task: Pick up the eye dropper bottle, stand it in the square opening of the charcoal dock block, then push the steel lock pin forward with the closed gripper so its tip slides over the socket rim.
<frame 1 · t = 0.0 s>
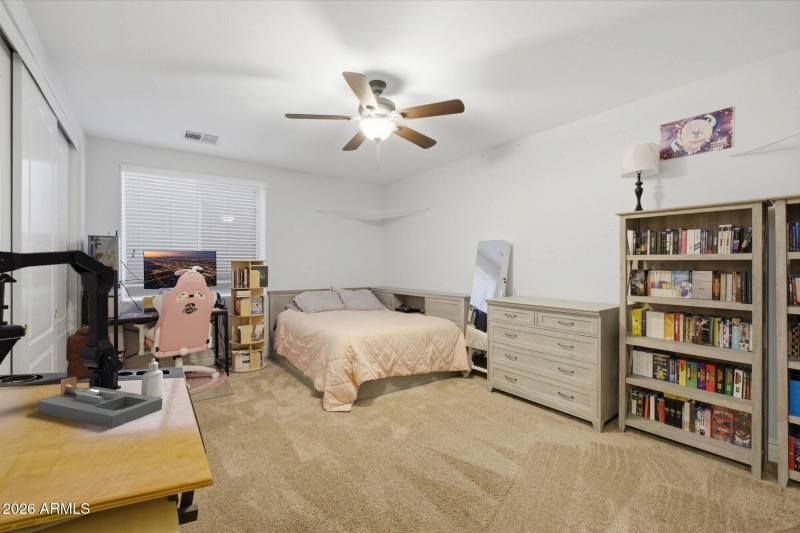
lock pin: (81, 388, 103), point 5 cm above the table, slide at 0.0 cm
eye dropper bottle: (151, 398, 111), on the table
dock block: (121, 414, 98), on the table
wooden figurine: (87, 376, 130), on the table
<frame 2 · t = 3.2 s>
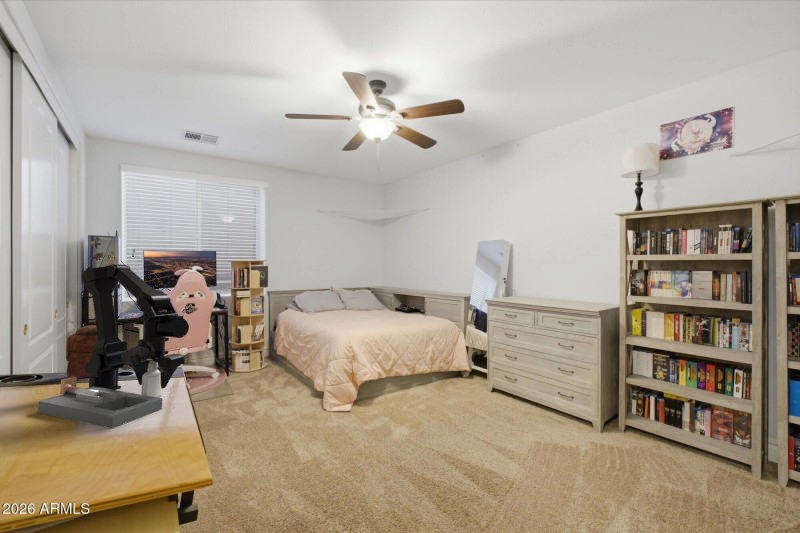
hand: (152, 386, 111), 3 cm above the table, tool pointing down, fingers closed on eye dropper bottle, 8 cm apart
eye dropper bottle: (151, 398, 111), on the table, touching gripper
everything else where it was.
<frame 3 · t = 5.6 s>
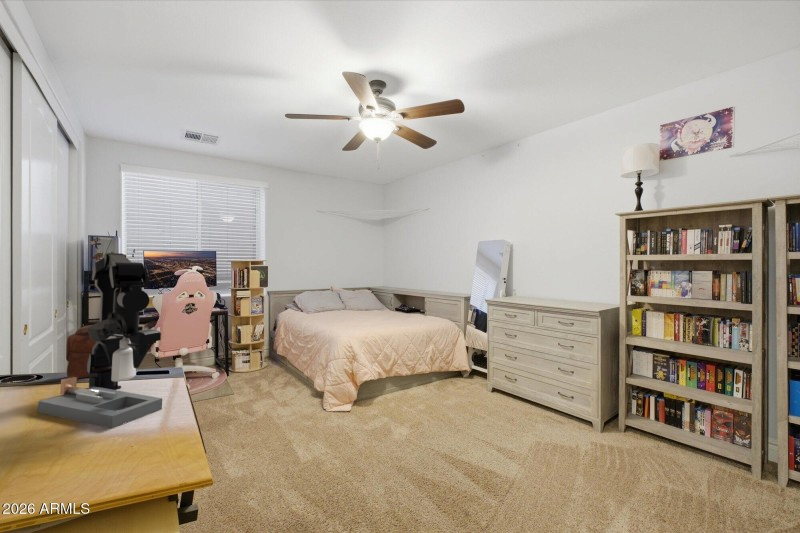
hand: (124, 366, 98), 13 cm above the table, tool pointing down, fingers closed on eye dropper bottle, 8 cm apart
eye dropper bottle: (123, 379, 98), point 9 cm above the table, touching gripper
everything else where it was.
when the fingers open (4 cm above the table, at t = 8.5 s): eye dropper bottle stays where it is, resting in dock block.
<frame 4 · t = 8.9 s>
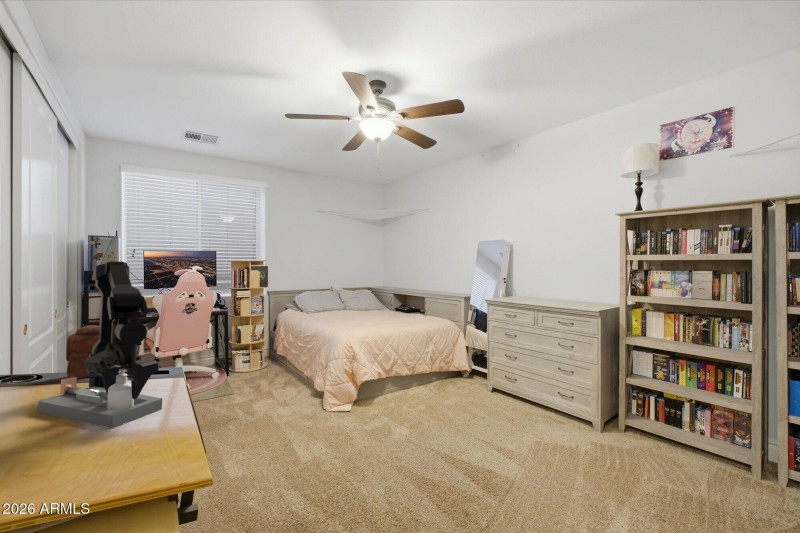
hand: (122, 396, 98), 5 cm above the table, tool pointing down, fingers open, 9 cm apart
eye dropper bottle: (120, 415, 98), resting in dock block
everything else where it was.
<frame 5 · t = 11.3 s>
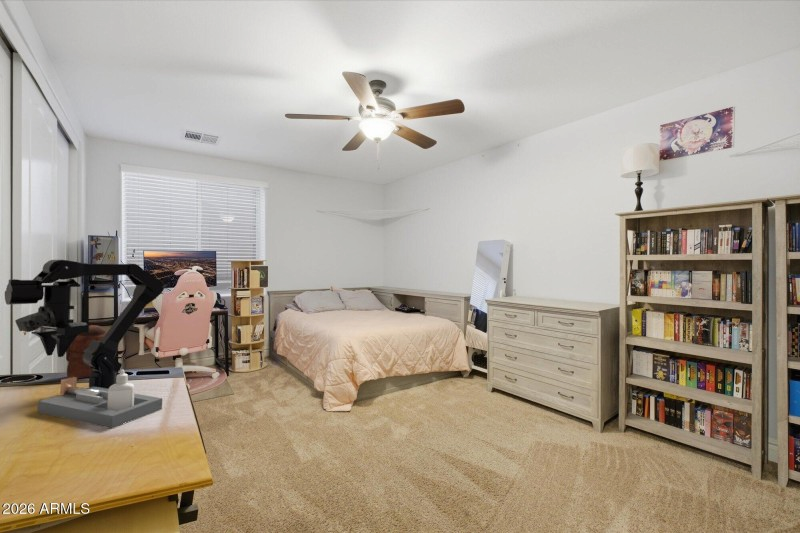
hand: (55, 356, 106), 13 cm above the table, tool pointing down, fingers open, 4 cm apart
nothing on the table moved.
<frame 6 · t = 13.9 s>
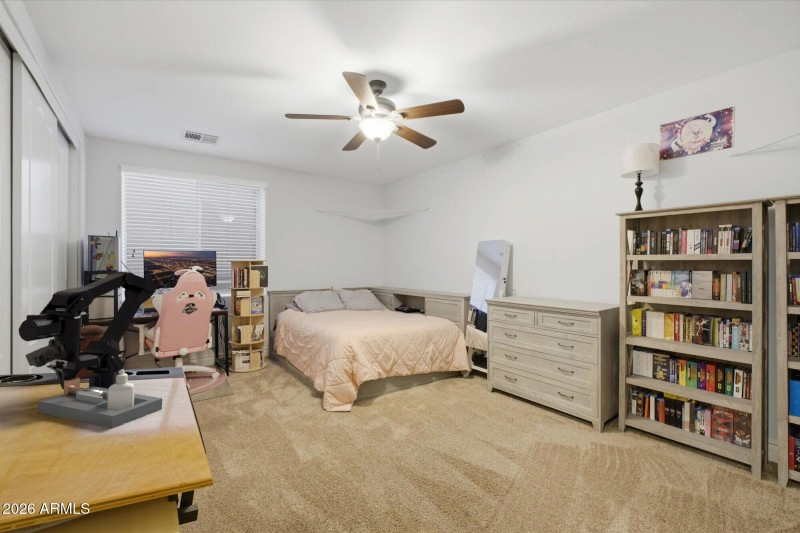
hand: (65, 389, 104), 4 cm above the table, tool pointing down, fingers closed
lock pin: (85, 388, 102), point 5 cm above the table, slide at 1.4 cm, touching gripper
everything else where it was.
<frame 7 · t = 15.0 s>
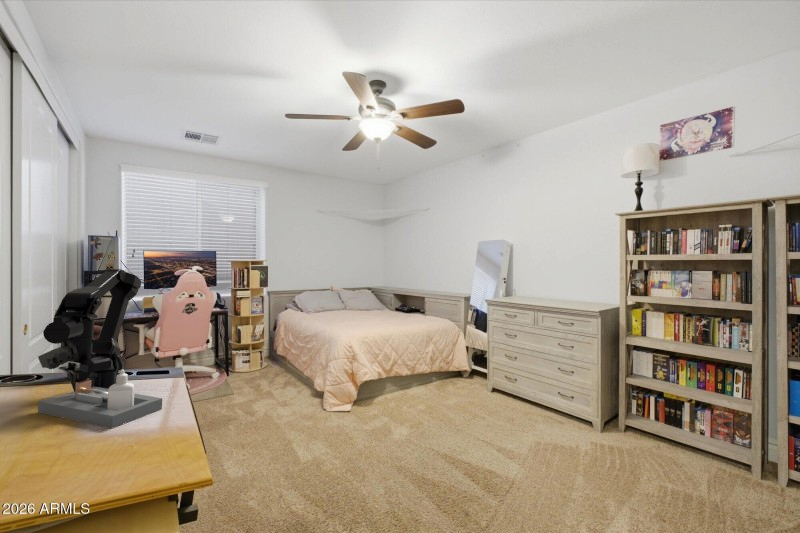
hand: (76, 391, 103), 4 cm above the table, tool pointing down, fingers closed
lock pin: (96, 390, 101), point 5 cm above the table, slide at 6.0 cm, touching dock block, gripper
everything else where it was.
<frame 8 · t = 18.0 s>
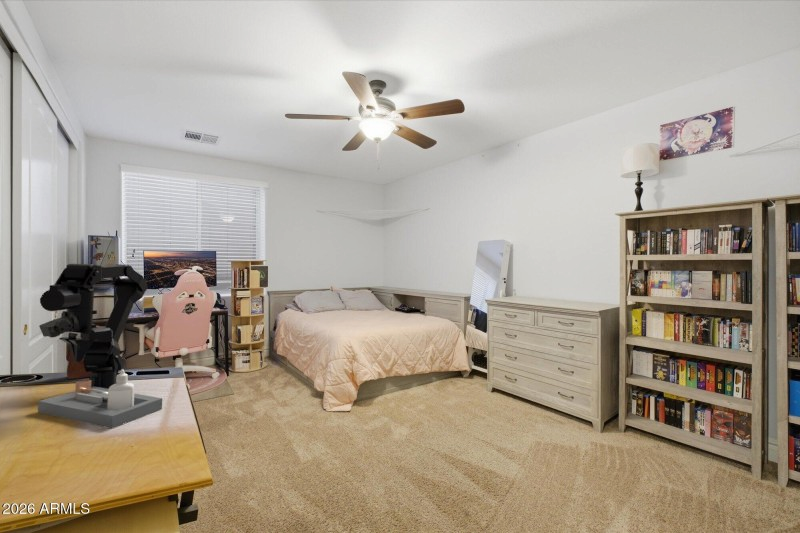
hand: (77, 361, 105), 12 cm above the table, tool pointing down, fingers closed
lock pin: (96, 390, 101), point 5 cm above the table, slide at 6.0 cm, touching dock block
everything else where it was.
at the end: eye dropper bottle 0.3 cm off-centre on the dock block, point 0.0 cm above the dock block's base; eye dropper bottle tilted 0°; lock pin slide at 6.0 cm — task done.
